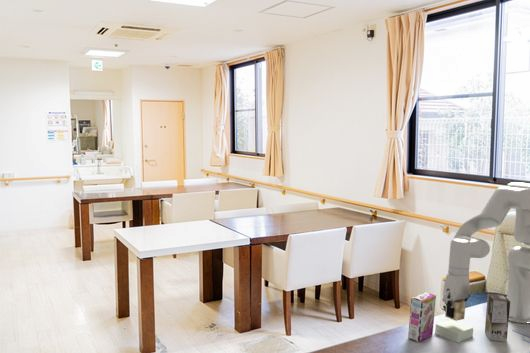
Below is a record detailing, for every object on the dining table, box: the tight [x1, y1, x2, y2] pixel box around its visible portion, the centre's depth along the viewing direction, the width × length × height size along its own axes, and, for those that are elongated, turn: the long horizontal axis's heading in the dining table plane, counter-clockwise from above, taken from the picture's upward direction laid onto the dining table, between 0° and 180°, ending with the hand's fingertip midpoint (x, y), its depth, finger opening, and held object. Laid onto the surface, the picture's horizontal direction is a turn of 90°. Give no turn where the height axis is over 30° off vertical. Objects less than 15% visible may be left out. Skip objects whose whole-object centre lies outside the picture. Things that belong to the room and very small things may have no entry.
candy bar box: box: [407, 291, 437, 343], centre depth 192 cm, size 11×5×16 cm, turn 134°
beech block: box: [445, 298, 467, 322], centre depth 195 cm, size 5×5×7 cm
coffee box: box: [484, 293, 510, 343], centre depth 195 cm, size 9×6×16 cm
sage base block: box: [434, 318, 474, 343], centre depth 196 cm, size 10×10×4 cm
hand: (454, 315), depth 196 cm, fingers closed on beech block, 5 cm apart
